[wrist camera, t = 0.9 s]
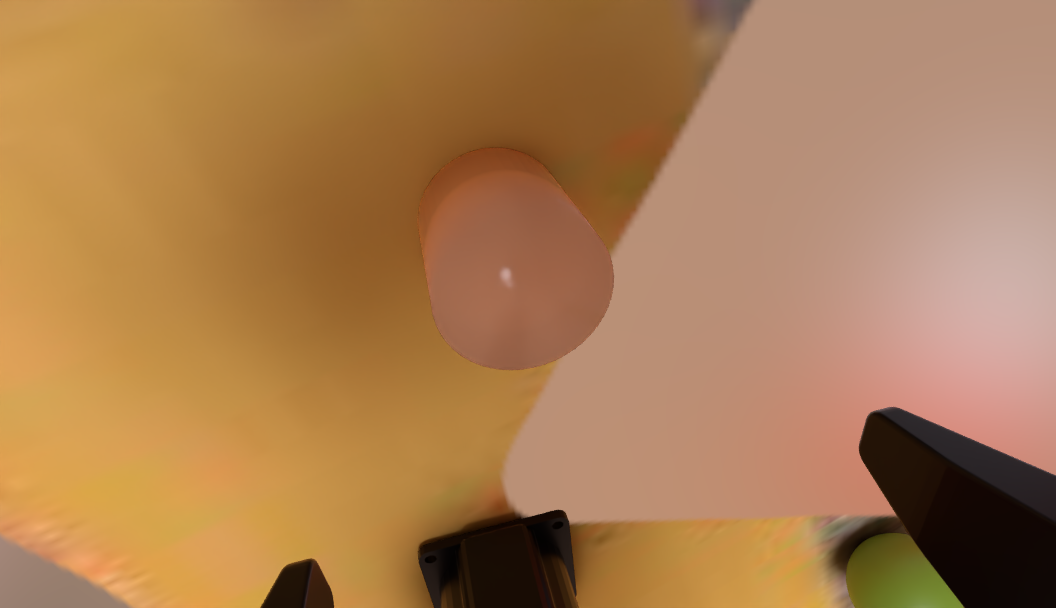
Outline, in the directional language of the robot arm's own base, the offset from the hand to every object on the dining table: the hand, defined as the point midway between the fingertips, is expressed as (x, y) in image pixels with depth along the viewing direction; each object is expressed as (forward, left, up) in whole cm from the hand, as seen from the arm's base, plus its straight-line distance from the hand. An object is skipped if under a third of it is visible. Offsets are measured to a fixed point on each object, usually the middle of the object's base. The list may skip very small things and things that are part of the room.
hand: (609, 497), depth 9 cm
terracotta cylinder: (0, 0, -11) cm, 11 cm away
